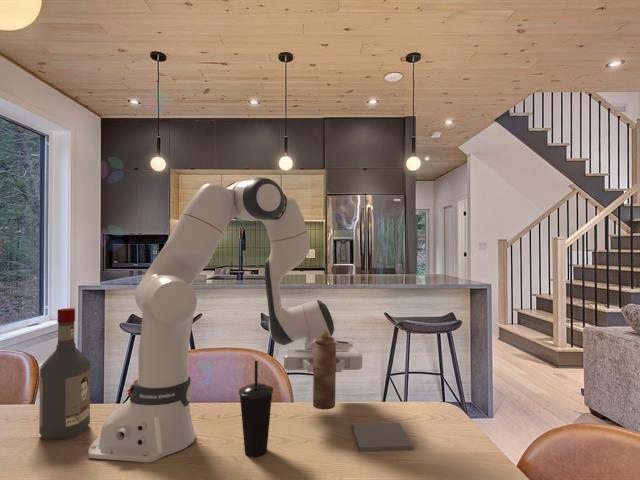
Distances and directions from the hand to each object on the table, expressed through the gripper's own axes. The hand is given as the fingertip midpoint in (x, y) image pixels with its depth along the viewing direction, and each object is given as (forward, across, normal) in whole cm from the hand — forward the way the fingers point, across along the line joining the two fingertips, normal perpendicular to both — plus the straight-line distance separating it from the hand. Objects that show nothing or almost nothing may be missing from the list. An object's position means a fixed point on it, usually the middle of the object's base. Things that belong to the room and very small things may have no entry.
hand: (324, 368), depth 98 cm
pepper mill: (-1, 0, +9) cm, 9 cm away
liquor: (-6, -64, +17) cm, 66 cm away
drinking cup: (+7, -16, +16) cm, 24 cm away
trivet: (+2, +13, +16) cm, 21 cm away
